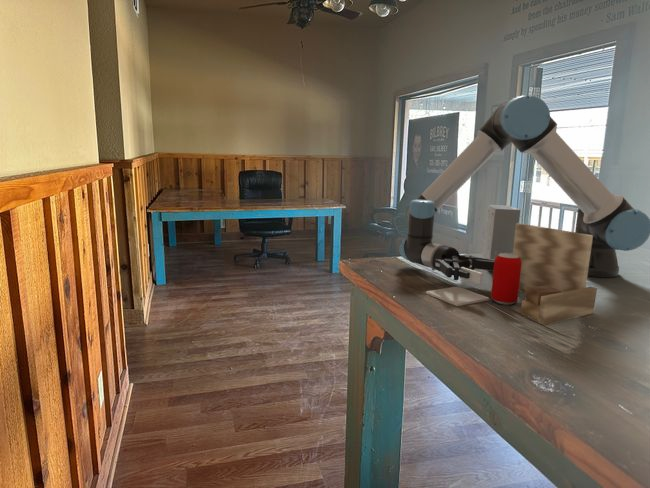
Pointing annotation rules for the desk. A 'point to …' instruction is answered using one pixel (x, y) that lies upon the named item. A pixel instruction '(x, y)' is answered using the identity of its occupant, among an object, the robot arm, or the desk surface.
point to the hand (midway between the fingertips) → (501, 275)
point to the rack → (556, 270)
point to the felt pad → (457, 296)
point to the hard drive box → (500, 230)
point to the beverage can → (506, 278)
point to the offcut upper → (539, 293)
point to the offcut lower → (530, 309)
